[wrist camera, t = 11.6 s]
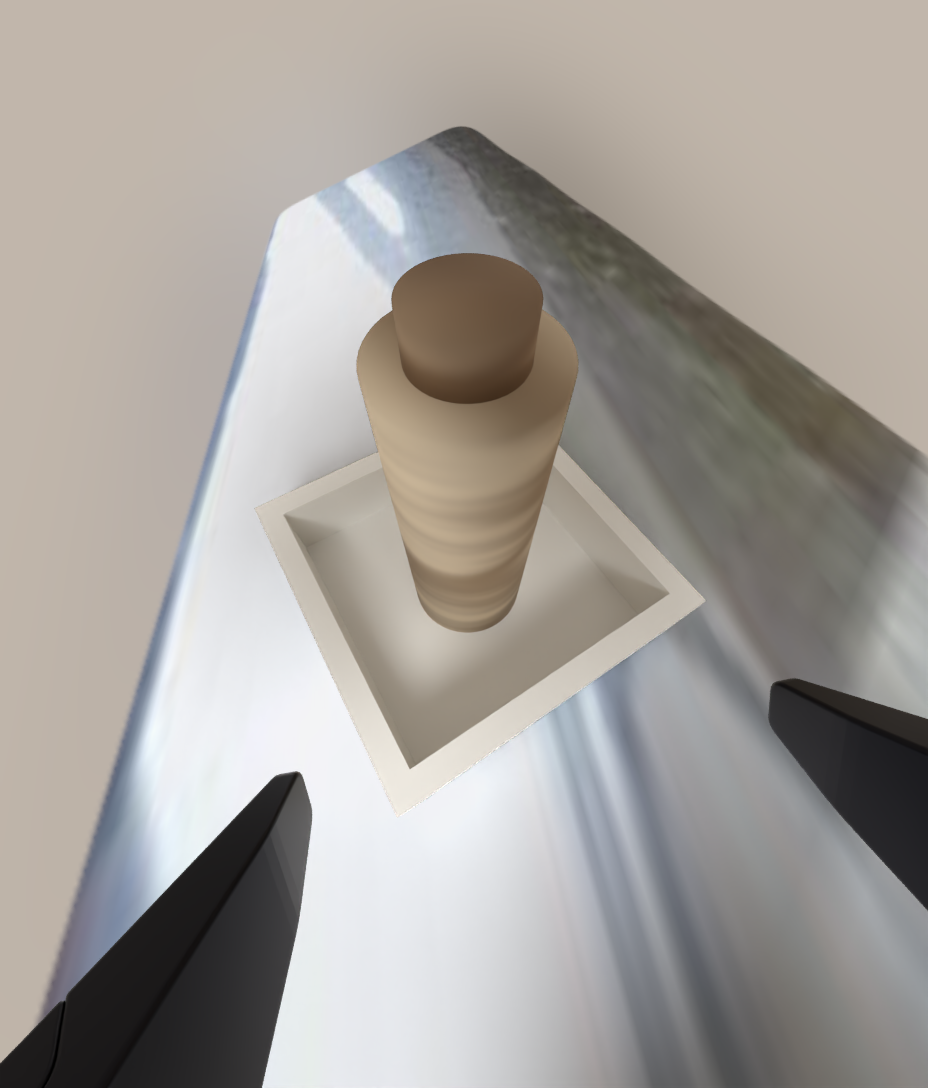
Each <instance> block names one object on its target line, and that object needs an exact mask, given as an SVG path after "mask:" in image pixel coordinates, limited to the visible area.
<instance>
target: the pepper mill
mask: <svg viewBox="0 0 928 1088" xmlns="http://www.w3.org/2000/svg"><path fill="white" fill-rule="evenodd" d="M391 300H392V309H393V310H392V311H391V312H389V313H388V314H386V315H385V316H384V317H382V318H381V319H380V320H379V321H378V322H377V323H376V324H375V325H374V326H373V327H372V328H371V329H370V331H369V332H368V333H367V335H366V336H365V338H364V340H363V341H362V344H361V346H360V349H359V351H358V357H357V375H358V380H359V384H360V387H361V391H362V395H363V398H364V402H365V405H366V409H367V413H368V416H369V420H370V424H371V427H372V431H373V435H374V438H375V442H376V446H377V449H378V453H379V456H380V460H381V464H382V467H383V471H384V475H385V478H386V482H387V486H388V489H389V493H390V496H391V500H392V504H393V507H394V511H395V515H396V518H397V522H398V526H399V529H400V533H401V536H402V540H403V544H404V547H405V551H406V555H407V558H408V562H409V566H410V569H411V573H412V577H413V580H414V584H415V587H416V591H417V595H418V598H419V601H420V604H421V606H422V607H423V609H424V611H425V612H426V613H427V615H428V616H429V617H430V618H431V619H432V620H433V621H435V622H436V623H437V624H439V625H441V626H442V627H444V628H447V629H449V630H453V631H456V632H464V633H471V632H478V631H482V630H486V629H488V628H491V627H492V626H494V625H496V624H497V623H499V622H500V621H501V620H503V619H504V618H505V617H506V616H507V614H508V613H509V612H510V611H511V609H512V607H513V605H514V603H515V601H516V598H517V594H518V590H519V587H520V583H521V579H522V576H523V572H524V569H525V565H526V561H527V558H528V554H529V550H530V547H531V543H532V539H533V536H534V532H535V528H536V525H537V521H538V517H539V514H540V510H541V506H542V503H543V499H544V496H545V492H546V488H547V485H548V481H549V477H550V474H551V470H552V466H553V463H554V459H555V455H556V452H557V448H558V444H559V441H560V437H561V434H562V430H563V426H564V423H565V419H566V415H567V412H568V408H569V404H570V401H571V397H572V393H573V390H574V386H575V382H576V378H577V374H578V357H577V351H576V348H575V346H574V343H573V341H572V339H571V338H570V336H569V334H568V333H567V331H566V330H565V329H564V328H563V326H562V325H561V324H560V323H559V322H558V321H557V320H555V319H554V318H553V317H552V316H551V315H549V314H548V313H546V312H545V311H544V310H542V305H543V293H542V290H541V287H540V285H539V283H538V282H537V280H536V279H535V278H534V277H533V275H531V274H530V273H529V272H528V271H527V270H525V269H524V268H522V267H521V266H519V265H517V264H515V263H513V262H511V261H508V260H506V259H503V258H499V257H495V256H491V255H485V254H474V253H461V254H451V255H445V256H440V257H436V258H433V259H430V260H427V261H425V262H422V263H420V264H418V265H416V266H415V267H413V268H411V269H410V270H409V271H407V272H406V273H405V274H404V275H403V276H402V277H401V278H400V279H399V280H398V282H397V283H396V285H395V287H394V289H393V292H392V298H391Z"/></svg>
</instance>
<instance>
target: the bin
mask: <svg viewBox="0 0 928 1088" xmlns="http://www.w3.org/2000/svg"><path fill="white" fill-rule="evenodd" d="M254 509H255V511H256V513H257V515H258V517H259V519H260V522H261V524H262V526H263V528H264V530H265V532H266V535H267V537H268V539H269V541H270V543H271V545H272V548H273V550H274V552H275V554H276V556H277V558H278V561H279V563H280V565H281V567H282V569H283V571H284V574H285V576H286V578H287V580H288V582H289V584H290V587H291V589H292V591H293V593H294V595H295V597H296V600H297V602H298V604H299V606H300V608H301V610H302V613H303V615H304V617H305V619H306V621H307V623H308V626H309V628H310V630H311V632H312V634H313V636H314V639H315V641H316V643H317V645H318V647H319V649H320V652H321V654H322V656H323V658H324V660H325V662H326V665H327V667H328V669H329V671H330V673H331V675H332V678H333V680H334V682H335V684H336V686H337V688H338V691H339V693H340V695H341V697H342V699H343V701H344V704H345V706H346V708H347V710H348V712H349V714H350V717H351V719H352V721H353V723H354V725H355V727H356V730H357V732H358V734H359V736H360V738H361V740H362V743H363V745H364V747H365V749H366V751H367V753H368V756H369V758H370V760H371V762H372V764H373V766H374V769H375V771H376V773H377V775H378V777H379V779H380V782H381V784H382V786H383V788H384V790H385V792H386V795H387V797H388V799H389V801H390V803H391V805H392V808H393V810H394V812H395V814H396V816H397V818H398V817H399V816H401V815H403V814H404V813H406V812H408V811H410V810H411V809H413V808H414V807H415V806H417V805H418V804H420V803H421V802H423V801H424V800H425V799H427V798H428V797H430V796H431V795H433V794H434V793H435V792H437V791H438V790H440V789H441V788H443V787H444V786H445V785H447V784H448V783H450V782H451V781H452V780H454V779H455V778H457V777H458V776H460V775H461V774H462V773H464V772H465V771H467V770H468V769H470V768H471V767H472V766H474V765H475V764H477V763H478V762H480V761H481V760H482V759H484V758H485V757H487V756H488V755H489V754H491V753H492V752H494V751H495V750H497V749H498V748H499V747H501V746H502V745H504V744H505V743H507V742H508V741H509V740H511V739H512V738H514V737H515V736H516V735H518V734H519V733H521V732H522V731H524V730H525V729H526V728H528V727H529V726H531V725H532V724H534V723H535V722H536V721H538V720H539V719H541V718H542V717H544V716H545V715H546V714H548V713H549V712H551V711H552V710H553V709H555V708H556V707H558V706H559V705H561V704H562V703H563V702H565V701H566V700H568V699H569V698H571V697H572V696H573V695H575V694H576V693H578V692H579V691H580V690H582V689H583V688H585V687H586V686H588V685H589V684H590V683H592V682H593V681H595V680H596V679H598V678H599V677H600V676H602V675H603V674H605V673H606V672H608V671H609V670H610V669H612V668H613V667H615V666H616V665H617V664H619V663H620V662H622V661H623V660H625V659H626V658H627V657H629V656H630V655H632V654H633V653H635V652H636V651H637V650H639V649H640V648H642V647H643V646H644V645H646V644H647V643H649V642H650V641H652V640H653V639H654V638H656V637H657V636H659V635H660V634H662V633H663V632H664V631H666V630H667V629H669V628H670V627H671V626H673V625H674V624H675V623H677V622H678V621H679V620H681V619H682V618H684V617H685V616H686V615H688V614H689V613H690V612H692V611H693V610H694V609H696V608H697V607H698V606H700V605H701V604H703V603H704V602H705V601H706V600H705V599H704V598H703V597H702V596H701V595H700V594H699V593H698V592H697V590H696V589H695V588H694V587H693V586H692V585H691V584H690V583H689V582H688V581H687V580H686V579H685V578H684V577H683V576H682V575H681V574H680V573H679V571H678V570H677V569H676V568H675V567H674V566H673V565H672V564H671V563H670V562H669V561H668V560H667V559H666V558H665V557H664V556H663V555H662V554H661V552H660V551H659V550H658V549H657V548H656V547H655V546H654V545H653V544H652V543H651V542H650V541H649V540H648V539H647V538H646V537H645V536H644V535H643V533H642V532H641V531H640V530H639V529H638V528H637V527H636V526H635V525H634V524H633V523H632V522H631V521H630V520H629V519H628V518H627V517H626V516H625V514H624V513H623V512H622V511H621V510H620V509H619V508H618V507H617V506H616V505H615V504H614V503H613V502H612V501H611V500H610V499H609V498H608V497H607V495H606V494H605V493H604V492H603V491H602V490H601V489H600V488H599V487H598V486H597V485H596V484H595V483H594V482H593V481H592V480H591V479H590V478H589V476H588V475H587V474H586V473H585V472H584V471H583V470H582V469H581V468H580V467H579V466H578V465H577V464H576V463H575V462H574V461H573V460H572V458H571V457H570V456H569V455H568V454H567V453H566V452H565V451H564V450H563V449H562V448H561V447H560V446H559V445H558V448H557V452H556V455H555V459H554V463H553V466H552V470H551V474H550V477H549V481H548V485H547V488H546V492H545V496H544V499H543V503H542V506H541V510H540V514H539V517H538V521H537V525H536V528H535V532H534V536H533V539H532V543H531V547H530V550H529V554H528V558H527V561H526V565H525V569H524V572H523V576H522V579H521V583H520V587H519V590H518V594H517V598H516V601H515V603H514V605H513V607H512V609H511V611H510V612H509V613H508V614H507V616H506V617H505V618H504V619H503V620H501V621H500V622H499V623H497V624H496V625H494V626H492V627H491V628H488V629H486V630H482V631H478V632H471V633H464V632H456V631H453V630H449V629H447V628H444V627H442V626H441V625H439V624H437V623H436V622H435V621H433V620H432V619H431V618H430V617H429V616H428V615H427V613H426V612H425V611H424V609H423V607H422V606H421V604H420V601H419V598H418V595H417V591H416V587H415V584H414V580H413V577H412V573H411V569H410V566H409V562H408V558H407V555H406V551H405V547H404V544H403V540H402V536H401V533H400V529H399V526H398V522H397V518H396V515H395V511H394V507H393V504H392V500H391V496H390V493H389V489H388V486H387V482H386V478H385V475H384V471H383V467H382V464H381V460H380V456H379V453H378V452H376V453H373V454H371V455H369V456H367V457H365V458H363V459H360V460H358V461H356V462H354V463H352V464H350V465H347V466H345V467H343V468H341V469H339V470H337V471H334V472H332V473H330V474H328V475H326V476H323V477H321V478H319V479H317V480H315V481H313V482H310V483H308V484H306V485H304V486H302V487H300V488H297V489H295V490H293V491H291V492H289V493H287V494H284V495H282V496H280V497H278V498H276V499H273V500H271V501H269V502H267V503H265V504H263V505H260V506H258V507H256V508H254Z"/></svg>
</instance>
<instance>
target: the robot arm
mask: <svg viewBox="0 0 928 1088" xmlns="http://www.w3.org/2000/svg"><path fill="white" fill-rule="evenodd" d="M768 718H769V723H770V725H771V727H772V729H773V731H774V732H775V734H776V735H777V736H778V738H779V739H780V740H781V741H782V743H783V744H784V745H785V746H786V748H787V749H788V750H789V752H790V753H791V754H792V755H793V757H794V758H795V759H796V761H797V762H798V763H799V764H800V766H801V767H802V768H803V769H804V771H805V772H806V773H807V775H808V776H809V777H810V778H811V780H812V781H813V782H814V783H815V785H816V786H817V787H818V789H819V790H820V791H821V792H822V794H823V795H824V796H825V797H826V799H827V800H828V801H829V802H830V803H831V805H832V806H833V807H834V808H835V809H836V811H837V812H838V813H839V814H840V815H841V816H842V817H843V819H844V820H845V821H846V822H847V823H848V824H849V825H850V826H851V827H852V829H853V830H854V831H855V832H856V833H857V834H858V835H859V836H860V837H861V838H862V839H863V841H864V842H865V843H866V844H867V845H868V846H869V847H870V848H871V849H872V850H873V851H874V853H875V854H876V855H877V856H878V857H879V858H880V859H881V860H882V861H883V862H884V863H885V865H886V866H887V867H888V868H889V869H890V870H891V871H892V872H893V873H894V874H895V875H896V877H897V878H898V879H899V880H900V881H901V882H902V883H903V884H904V885H905V886H906V887H907V889H908V890H909V891H910V892H911V893H912V894H913V895H914V896H915V897H916V898H917V899H918V901H919V902H920V903H921V904H922V905H923V906H924V907H925V908H926V909H927V910H928V719H926V718H922V717H919V716H916V715H913V714H910V713H906V712H903V711H900V710H897V709H894V708H890V707H887V706H884V705H881V704H877V703H874V702H871V701H868V700H865V699H861V698H858V697H855V696H852V695H848V694H845V693H842V692H839V691H836V690H832V689H829V688H826V687H823V686H820V685H816V684H813V683H810V682H807V681H803V680H800V679H787V680H781V681H777V682H775V683H773V685H772V686H771V691H770V702H769V714H768ZM311 824H312V808H311V804H310V800H309V797H308V793H307V790H306V786H305V783H304V779H303V777H302V775H301V773H300V772H297V771H295V772H289V773H284V774H279V775H276V776H275V777H274V778H273V779H271V781H270V782H269V783H268V784H267V785H266V786H265V787H264V788H263V789H262V790H261V791H260V792H259V793H258V794H257V795H256V796H255V797H254V798H253V799H252V800H251V802H250V803H249V804H248V805H247V806H246V807H245V808H244V809H243V810H242V811H241V812H240V813H239V814H238V815H237V816H236V817H235V818H234V819H233V820H232V821H231V823H230V824H229V825H228V826H227V827H226V828H225V829H224V830H223V831H222V832H221V833H220V834H219V835H218V836H217V837H216V838H215V839H214V840H213V841H212V842H211V844H210V845H209V846H208V847H207V848H206V849H205V850H204V851H203V852H202V853H201V854H200V855H199V856H198V857H197V858H196V859H195V860H194V861H193V862H192V863H191V864H190V866H189V867H188V868H187V869H186V870H185V871H184V872H183V873H182V874H181V875H180V876H179V877H178V878H177V879H176V880H175V881H174V882H173V883H172V884H171V885H170V887H169V888H168V889H167V890H166V891H165V892H164V893H163V894H162V895H161V896H160V897H159V898H158V899H157V900H156V901H155V902H154V903H153V904H152V905H151V906H150V908H149V909H148V910H147V911H146V912H145V913H144V914H143V915H142V916H141V917H140V918H139V919H138V920H137V921H136V922H135V923H134V924H133V925H132V926H131V927H130V929H129V930H128V931H127V932H126V933H125V934H124V935H123V936H122V937H121V938H120V939H119V940H118V941H117V942H116V943H115V944H114V945H113V946H112V947H111V948H110V950H109V951H108V952H107V953H106V954H105V955H104V956H103V957H102V958H101V959H100V960H99V961H98V962H97V963H96V964H95V965H94V966H93V967H92V968H91V969H90V971H89V972H88V973H87V974H86V975H85V976H84V977H83V978H82V979H81V980H80V981H79V982H78V983H77V984H76V985H75V986H74V987H73V988H72V989H71V990H70V991H69V993H68V994H67V996H66V1000H65V1001H60V1002H59V1003H58V1004H57V1005H56V1006H55V1007H54V1008H53V1009H52V1010H51V1011H50V1012H49V1013H48V1014H47V1015H46V1016H45V1017H44V1019H43V1020H42V1021H41V1022H40V1023H39V1024H38V1025H37V1026H36V1027H35V1028H34V1029H33V1030H32V1031H31V1032H30V1033H29V1034H28V1035H27V1036H26V1037H25V1038H24V1039H23V1041H22V1042H21V1043H20V1044H19V1045H18V1046H17V1047H16V1048H15V1049H14V1050H13V1051H12V1052H11V1053H10V1054H9V1055H8V1056H7V1057H6V1058H5V1059H4V1060H3V1061H2V1062H1V1063H0V1088H262V1085H263V1081H264V1076H265V1072H266V1067H267V1063H268V1058H269V1054H270V1049H271V1045H272V1040H273V1036H274V1032H275V1027H276V1023H277V1018H278V1014H279V1009H280V1005H281V1000H282V996H283V991H284V987H285V982H286V978H287V973H288V969H289V964H290V960H291V955H292V951H293V947H294V942H295V937H296V932H297V927H298V922H299V916H300V910H301V903H302V895H303V887H304V879H305V871H306V864H307V856H308V848H309V840H310V832H311Z"/></svg>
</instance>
